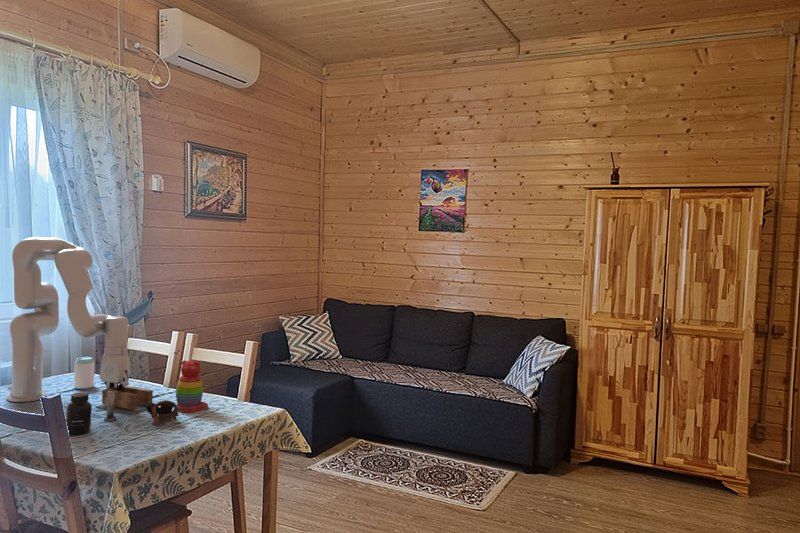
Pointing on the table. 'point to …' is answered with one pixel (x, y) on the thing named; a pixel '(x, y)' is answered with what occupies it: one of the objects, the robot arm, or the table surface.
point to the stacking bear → (190, 388)
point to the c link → (129, 397)
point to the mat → (127, 411)
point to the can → (84, 373)
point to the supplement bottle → (79, 414)
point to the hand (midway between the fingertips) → (114, 400)
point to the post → (110, 406)
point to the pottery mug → (162, 411)
